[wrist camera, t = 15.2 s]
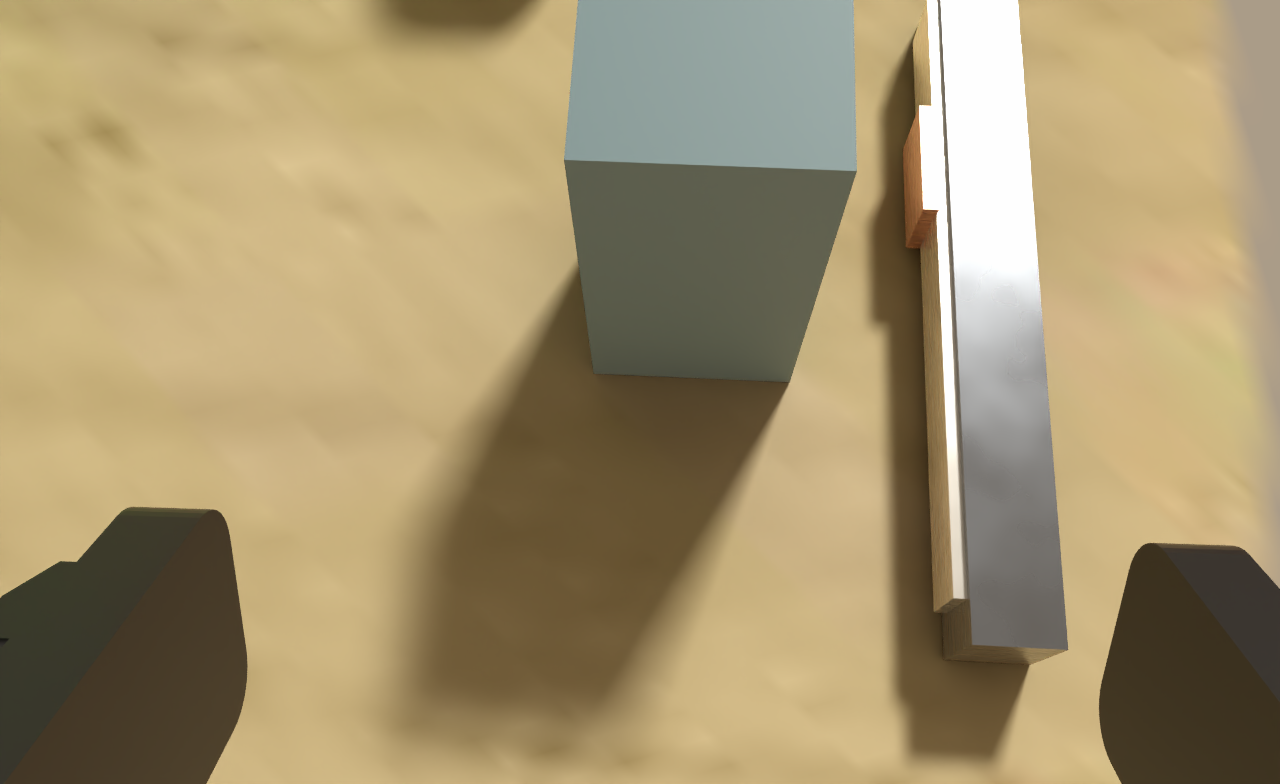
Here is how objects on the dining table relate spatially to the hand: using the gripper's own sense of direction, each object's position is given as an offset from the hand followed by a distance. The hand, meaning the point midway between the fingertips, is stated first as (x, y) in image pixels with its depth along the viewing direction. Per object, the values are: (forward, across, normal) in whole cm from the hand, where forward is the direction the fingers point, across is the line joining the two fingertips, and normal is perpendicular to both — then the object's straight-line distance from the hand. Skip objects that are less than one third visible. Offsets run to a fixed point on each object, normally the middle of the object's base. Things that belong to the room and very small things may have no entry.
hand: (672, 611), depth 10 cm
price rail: (+19, -8, +4) cm, 21 cm away
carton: (+19, -1, +4) cm, 20 cm away
